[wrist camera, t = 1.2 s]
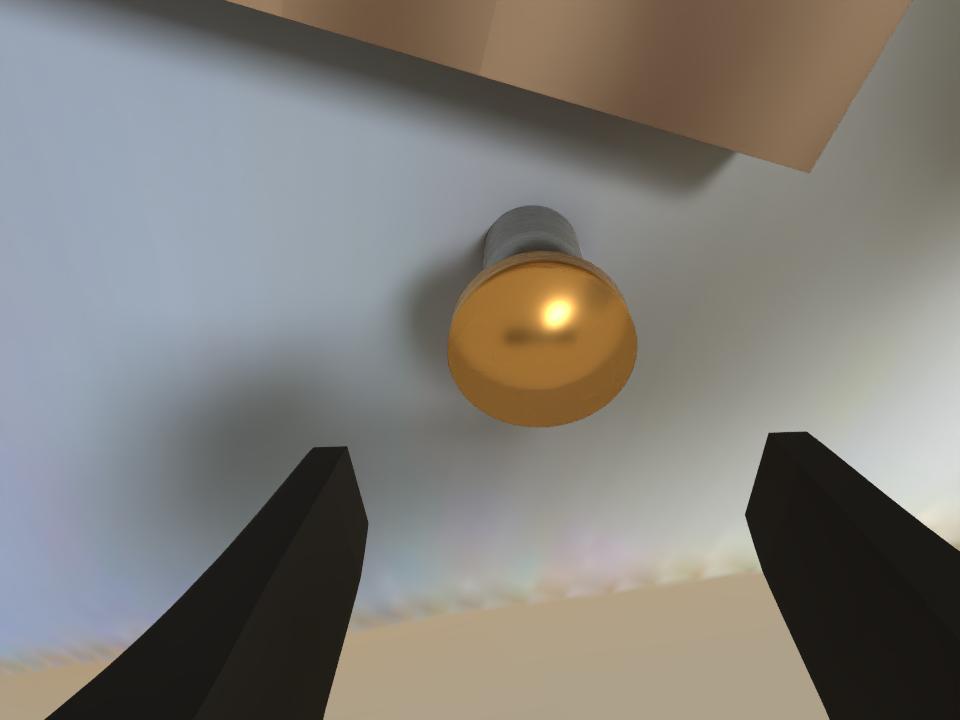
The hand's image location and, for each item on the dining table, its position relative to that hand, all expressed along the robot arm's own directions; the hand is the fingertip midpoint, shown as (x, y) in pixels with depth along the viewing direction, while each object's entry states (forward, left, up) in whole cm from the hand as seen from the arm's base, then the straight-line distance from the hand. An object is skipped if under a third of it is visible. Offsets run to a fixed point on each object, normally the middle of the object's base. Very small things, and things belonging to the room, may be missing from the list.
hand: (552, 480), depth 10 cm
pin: (0, 0, -10) cm, 10 cm away
